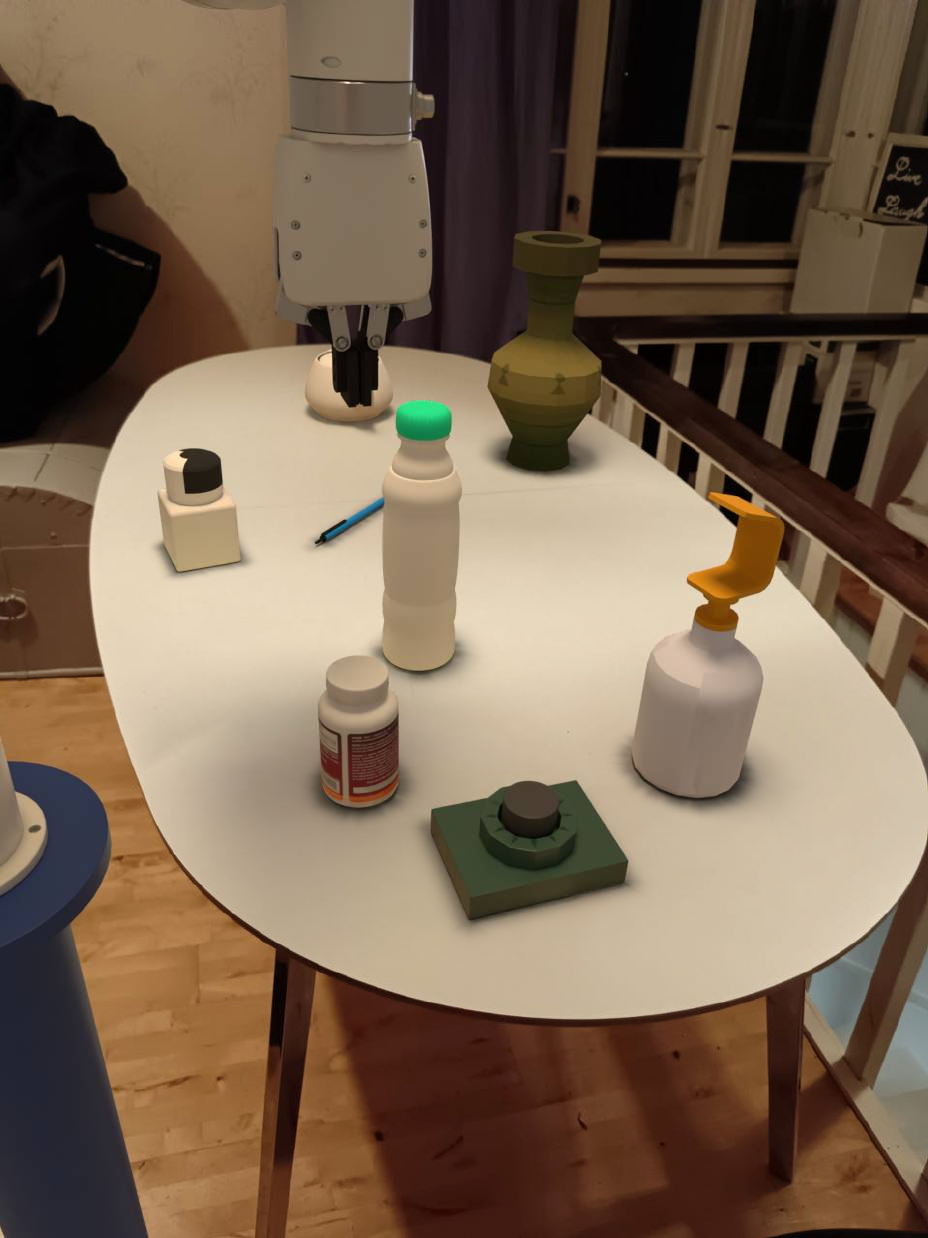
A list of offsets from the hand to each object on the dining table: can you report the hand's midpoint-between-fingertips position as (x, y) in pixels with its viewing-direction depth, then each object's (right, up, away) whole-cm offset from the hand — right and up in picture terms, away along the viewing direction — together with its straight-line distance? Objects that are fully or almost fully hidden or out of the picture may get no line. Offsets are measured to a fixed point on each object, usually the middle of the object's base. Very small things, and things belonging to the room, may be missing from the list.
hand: (355, 400), depth 69 cm
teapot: (-10, +16, +82) cm, 84 cm away
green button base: (+12, -33, +2) cm, 36 cm away
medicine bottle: (-22, -8, +40) cm, 47 cm away
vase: (+18, +7, +69) cm, 72 cm away
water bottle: (+3, -19, +25) cm, 32 cm away
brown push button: (+12, -30, +1) cm, 33 cm away
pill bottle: (-1, -29, +8) cm, 30 cm away
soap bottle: (+26, -28, +12) cm, 41 cm away
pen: (-5, -3, +50) cm, 51 cm away
